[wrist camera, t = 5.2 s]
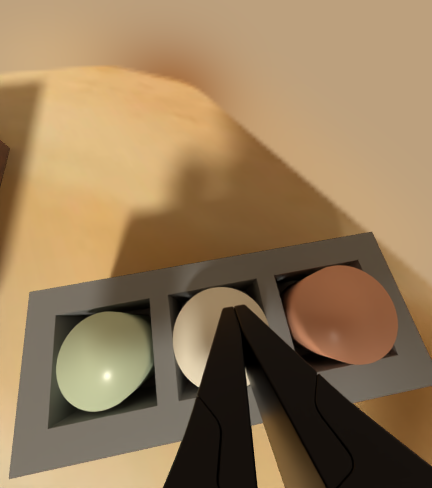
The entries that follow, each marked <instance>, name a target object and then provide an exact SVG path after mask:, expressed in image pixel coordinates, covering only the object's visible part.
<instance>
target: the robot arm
mask: <svg viewBox="0 0 432 488" xmlns="http://www.w3.org/2000/svg"><path fill="white" fill-rule="evenodd" d="M246 373H247V376H248V379H249V382H250V385H251V388H252V391H253V394H254V397H255V400H256V403H257V406H258V409H259V412H260V415H261V418H262V421H263V424H264V427H265V430H266V433H267V436H268V439H269V442H270V445H271V447H272V450H273V453H274V456H275V459H276V462H277V465H278V468H279V471H280V474H281V477H282V480H283V483H284V486H285V488H432V466H431V465H429V464H428V463H427V462H426V461H424V460H423V459H422V458H421V457H419V456H418V455H417V454H415V453H414V452H413V451H412V450H410V449H409V448H408V447H407V446H405V445H404V444H403V443H401V442H400V441H399V440H398V439H396V438H395V437H394V436H393V435H391V434H390V433H389V432H388V431H386V430H385V429H384V428H382V427H381V426H380V425H379V424H377V423H376V422H375V421H374V420H372V419H371V418H370V417H369V416H367V415H366V414H365V413H364V412H362V411H361V410H360V409H359V408H358V407H356V406H355V405H354V404H353V403H351V402H350V401H349V400H348V399H347V398H346V397H344V396H343V395H342V394H341V393H340V392H339V391H338V390H337V389H335V388H334V387H333V386H332V385H331V384H330V383H329V382H328V381H327V380H326V379H325V378H324V377H322V376H321V375H320V374H317V371H316V370H315V369H314V368H313V367H312V366H311V365H309V364H308V363H307V362H306V361H305V360H304V359H303V358H302V357H301V356H300V355H299V354H298V353H297V352H295V351H294V350H293V349H292V348H291V347H290V346H289V345H288V344H287V343H286V342H285V341H284V340H283V339H282V338H280V337H279V336H278V335H277V334H276V333H275V332H274V331H273V330H272V329H271V328H270V327H269V326H268V325H267V324H265V323H264V322H263V321H262V320H261V319H260V318H259V317H258V316H257V315H256V314H255V313H254V312H253V311H251V310H250V309H249V308H248V307H247V306H246V305H244V304H242V305H236V306H234V307H233V306H231V307H225V308H223V309H222V312H221V315H220V318H219V322H218V325H217V328H216V332H215V335H214V339H213V342H212V345H211V349H210V352H209V355H208V359H207V362H206V366H205V369H204V372H203V376H202V379H201V383H200V386H199V389H198V393H197V397H196V399H195V402H194V406H193V409H192V412H191V415H190V418H189V422H188V425H187V428H186V431H185V434H184V436H183V439H182V442H181V444H180V447H179V449H178V452H177V455H176V457H175V460H174V462H173V465H172V467H171V469H170V472H169V474H168V477H167V479H166V482H165V484H164V486H163V488H258V487H257V477H256V468H255V458H254V448H253V438H252V429H251V419H250V409H249V399H248V390H247V380H246Z"/></svg>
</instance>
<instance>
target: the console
mask: <svg viewBox="0 0 432 488" xmlns="http://www.w3.org/2000/svg"><path fill="white" fill-rule="evenodd" d="M336 265H344V266H350V267H354V268H357V269H359V270H362V271H364V272H366V273H367V274H369V275H370V276H372V277H373V278H374V279H376V280H377V281H378V282H379V283H380V284H381V285H382V286H383V287H384V289H385V290H386V291H387V293H388V294H389V296H390V298H391V300H392V301H393V304H394V306H395V309H396V313H397V318H398V332H397V337H396V340H395V343H394V345H393V347H392V348H391V350H390V351H389V352H388V353H387V354H386V355H385V356H384V357H383V358H381V359H380V360H378V361H376V362H373V363H370V364H364V365H354V364H348V363H345V362H341V361H338V360H335V359H332V358H329V357H326V356H323V355H319V354H316V353H313V352H310V351H307V350H304V349H301V348H299V347H297V346H296V345H294V344H293V342H292V339H291V335H290V331H289V328H288V324H287V320H286V317H285V313H284V310H283V306H282V302H281V299H280V295H281V294H282V292H283V291H284V290H285V289H286V288H287V287H288V286H290V285H292V284H294V283H296V282H298V281H300V280H301V279H303V278H305V277H307V276H309V275H311V274H313V273H315V272H317V271H319V270H321V269H324V268H326V267H330V266H336ZM215 287H227V288H233V289H236V290H239V291H241V292H243V293H245V294H246V295H248V296H249V297H250V298H252V299H253V300H254V301H255V302H256V303H257V304H258V306H259V307H260V308H261V310H262V311H263V313H264V315H265V317H266V319H267V322H268V325H269V327H270V328H271V329H272V330H273V331H274V332H275V333H276V334H277V335H278V336H279V337H280V338H282V339H283V340H284V341H285V342H286V343H287V344H288V345H289V346H290V347H291V348H292V349H293V350H294V351H295V352H297V353H298V354H299V355H300V356H301V357H302V358H303V359H304V360H305V361H306V362H307V363H308V364H309V365H311V366H312V367H313V368H314V369H315V370H316V371H317V374H320V375H321V376H322V377H324V378H325V379H326V380H327V381H328V382H329V383H330V384H331V385H332V386H333V387H334V388H335V389H337V390H338V391H339V392H340V393H341V394H342V395H343V396H344V397H346V398H347V399H348V400H349V401H350V402H351V403H356V402H360V401H365V400H369V399H374V398H378V397H383V396H388V395H392V394H397V393H401V392H406V391H410V390H415V389H419V388H424V387H428V386H432V360H431V358H430V356H429V354H428V351H427V349H426V347H425V345H424V343H423V341H422V339H421V336H420V334H419V332H418V330H417V328H416V326H415V323H414V321H413V319H412V317H411V315H410V313H409V310H408V308H407V306H406V304H405V302H404V300H403V298H402V295H401V293H400V291H399V289H398V287H397V285H396V282H395V280H394V278H393V276H392V274H391V272H390V269H389V267H388V265H387V263H386V261H385V259H384V257H383V254H382V252H381V250H380V248H379V246H378V244H377V241H376V239H375V237H374V235H373V233H372V232H368V233H362V234H356V235H351V236H345V237H339V238H334V239H328V240H322V241H317V242H311V243H305V244H300V245H294V246H288V247H283V248H277V249H271V250H266V251H260V252H254V253H249V254H243V255H237V256H232V257H226V258H220V259H215V260H209V261H203V262H198V263H192V264H186V265H181V266H175V267H169V268H164V269H158V270H152V271H147V272H141V273H135V274H130V275H124V276H118V277H113V278H107V279H101V280H96V281H90V282H84V283H79V284H73V285H67V286H62V287H56V288H50V289H45V290H39V291H33V292H30V293H29V302H28V311H27V320H26V329H25V338H24V347H23V356H22V365H21V374H20V383H19V392H18V401H17V410H16V419H15V428H14V437H13V446H12V455H11V464H10V473H9V479H12V478H16V477H21V476H25V475H30V474H34V473H39V472H43V471H48V470H52V469H57V468H62V467H66V466H71V465H75V464H80V463H84V462H89V461H93V460H98V459H102V458H107V457H111V456H116V455H120V454H125V453H129V452H134V451H139V450H143V449H148V448H152V447H157V446H161V445H166V444H170V443H175V442H179V441H182V439H183V436H184V434H185V431H186V428H187V425H188V422H189V418H190V415H191V412H192V409H193V406H194V402H195V399H196V397H197V393H198V389H199V387H197V386H196V385H195V384H193V383H192V382H191V381H190V380H189V379H188V378H187V377H186V376H185V375H184V373H183V372H182V370H181V369H180V367H179V365H178V363H177V360H176V357H175V354H174V349H173V331H174V326H175V322H176V319H177V317H178V315H179V313H180V311H181V310H182V308H183V307H184V305H185V304H186V303H187V302H188V301H189V300H190V299H191V298H192V297H194V296H195V295H196V294H198V293H200V292H202V291H204V290H207V289H210V288H215ZM100 312H122V313H131V314H141V315H146V316H149V317H151V325H152V339H153V352H154V366H155V374H154V375H153V376H152V377H151V378H150V379H148V380H147V381H146V382H145V383H143V384H142V385H141V386H140V387H139V388H137V389H136V390H135V391H134V392H133V393H131V394H130V395H129V396H128V397H127V398H125V399H124V400H123V401H122V402H120V403H119V404H117V405H115V406H114V407H111V408H109V409H106V410H103V411H96V412H94V411H85V410H81V409H79V408H77V407H75V406H73V405H72V404H71V403H69V402H68V401H67V400H66V398H65V397H64V396H63V394H62V393H61V391H60V388H59V386H58V382H57V376H56V365H57V358H58V354H59V351H60V348H61V346H62V344H63V342H64V340H65V339H66V337H67V335H68V334H69V333H70V332H71V330H72V329H73V328H74V327H75V326H76V325H77V324H79V323H80V322H81V321H82V320H84V319H85V318H87V317H89V316H91V315H94V314H96V313H100ZM247 390H248V399H249V409H250V419H251V426H252V425H256V424H261V423H263V421H262V418H261V415H260V412H259V409H258V406H257V403H256V400H255V397H254V394H253V391H252V388H251V385H248V386H247Z"/></svg>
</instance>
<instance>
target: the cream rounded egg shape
mask: <svg viewBox="0 0 432 488" xmlns="http://www.w3.org/2000/svg"><path fill="white" fill-rule="evenodd" d="M242 304H244V305H246V306H247V307H248V308H249V309H250V310H251V311H253V312H254V313H255V314H256V315H257V316H258V317H259V318H260V319H261V320H262V321H263V322H264V323H265V324H267V325H268V322H267V319H266V317H265V315H264V313H263V311H262V310H261V308H260V307H259V306H258V304H257V303H256V302H255V301H254V300H253V299H252V298H250V297H249V296H248V295H246V294H245V293H243V292H241V291H239V290H236V289H233V288H227V287H215V288H210V289H207V290H204V291H202V292H200V293H198V294H196V295H195V296H194V297H192V298H191V299H190V300H189V301H188V302H187V303H186V304H185V305H184V307H183V308H182V310H181V311H180V313H179V315H178V317H177V319H176V322H175V326H174V331H173V349H174V354H175V357H176V360H177V363H178V365H179V367H180V369H181V370H182V372H183V373H184V375H185V376H186V377H187V378H188V379H189V380H190V381H191V382H192V383H193V384H195V385H196V386H197V387H199V386H200V383H201V379H202V376H203V372H204V369H205V366H206V362H207V359H208V355H209V352H210V349H211V345H212V342H213V339H214V335H215V332H216V328H217V325H218V322H219V318H220V315H221V312H222V309H223V308H225V307H231V306H233V307H234V306H236V305H242ZM268 326H269V325H268ZM246 380H247V386H248V385H250V382H249V379H248V376H247V373H246Z"/></svg>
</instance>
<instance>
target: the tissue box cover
mask: <svg viewBox="0 0 432 488" xmlns="http://www.w3.org/2000/svg"><path fill="white" fill-rule="evenodd" d="M9 149H10V148H9V147H8V146H7V145H5V144H4V143H3V142H2V141H1V140H0V186H1V182H2V178H3V174H4V170H5V166H6V162H7V157H8V153H9Z"/></svg>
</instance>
